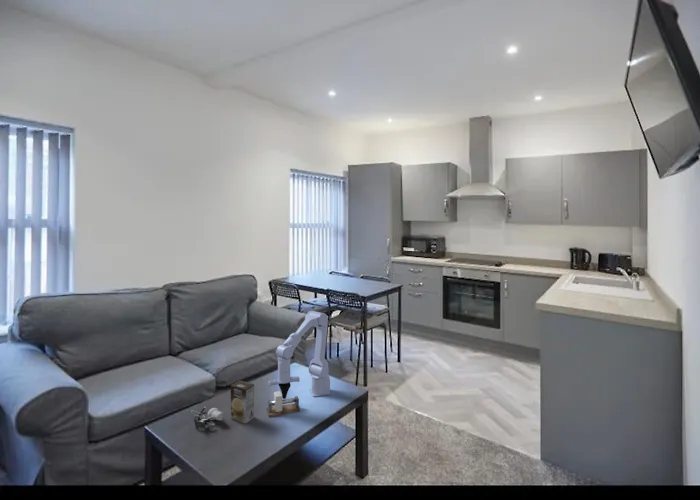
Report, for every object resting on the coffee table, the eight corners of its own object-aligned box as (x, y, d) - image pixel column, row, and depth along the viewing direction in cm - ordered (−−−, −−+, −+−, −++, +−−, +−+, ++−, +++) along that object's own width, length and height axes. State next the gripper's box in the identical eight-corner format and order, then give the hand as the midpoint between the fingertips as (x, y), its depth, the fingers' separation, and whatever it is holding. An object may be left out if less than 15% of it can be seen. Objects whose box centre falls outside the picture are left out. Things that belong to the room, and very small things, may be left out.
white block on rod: (280, 405, 182) (280, 391, 182) (282, 410, 177) (282, 395, 177) (273, 406, 181) (273, 391, 181) (275, 412, 176) (275, 396, 176)
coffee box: (229, 419, 172) (229, 385, 171) (239, 412, 178) (239, 379, 177) (245, 424, 168) (245, 389, 167) (255, 417, 174) (254, 383, 173)
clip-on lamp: (186, 425, 172) (202, 432, 159) (183, 411, 172) (199, 418, 160) (211, 413, 181) (228, 419, 168) (208, 400, 181) (225, 405, 168)
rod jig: (297, 404, 186) (297, 393, 186) (300, 411, 180) (300, 400, 179) (266, 409, 181) (266, 398, 181) (268, 417, 174) (268, 405, 174)
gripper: (297, 365, 185) (297, 391, 186) (267, 369, 180) (267, 396, 181) (300, 370, 179) (300, 398, 180) (270, 374, 173) (270, 403, 174)
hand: (284, 397), depth 180 cm, fingers closed
